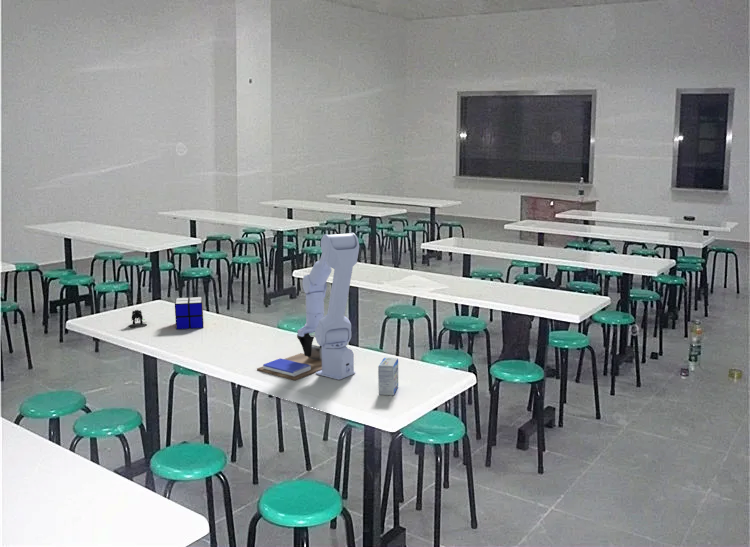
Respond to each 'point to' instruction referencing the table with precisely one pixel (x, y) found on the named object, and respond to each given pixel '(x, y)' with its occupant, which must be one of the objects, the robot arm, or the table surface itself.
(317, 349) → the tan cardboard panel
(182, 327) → the puzzle cube
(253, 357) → the table surface
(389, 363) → the medicine box
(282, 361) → the hard drive
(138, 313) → the toy robot
